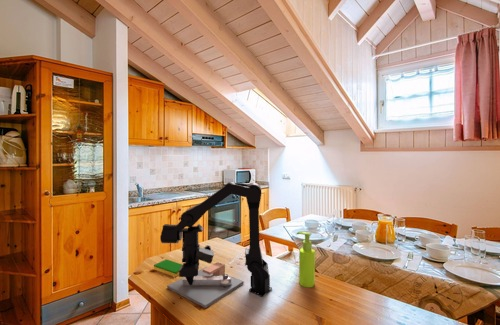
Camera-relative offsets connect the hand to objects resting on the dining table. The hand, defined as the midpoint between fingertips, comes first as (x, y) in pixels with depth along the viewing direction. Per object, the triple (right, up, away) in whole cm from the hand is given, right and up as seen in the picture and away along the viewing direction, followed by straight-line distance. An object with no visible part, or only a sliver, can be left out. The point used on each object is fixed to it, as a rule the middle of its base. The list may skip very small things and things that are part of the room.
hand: (190, 284), depth 97 cm
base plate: (+5, -2, +3) cm, 6 cm away
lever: (+6, -1, +2) cm, 6 cm away
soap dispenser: (+44, -2, +5) cm, 44 cm away
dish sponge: (-13, -2, +17) cm, 21 cm away
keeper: (+8, -1, +8) cm, 11 cm away
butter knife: (+12, -2, +22) cm, 25 cm away
